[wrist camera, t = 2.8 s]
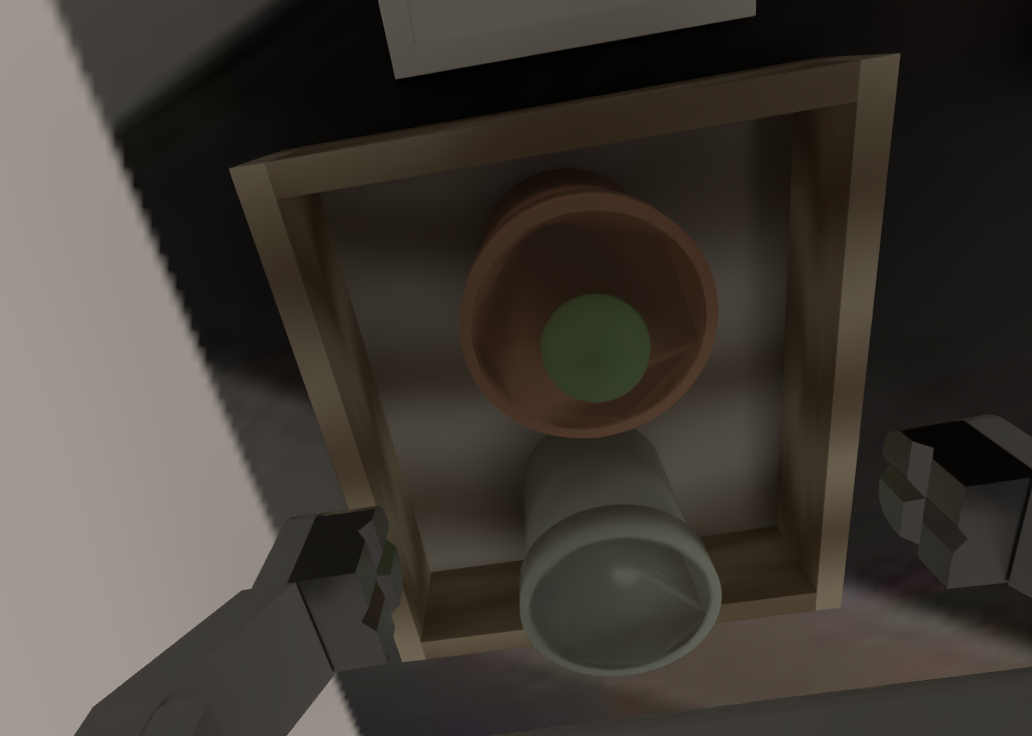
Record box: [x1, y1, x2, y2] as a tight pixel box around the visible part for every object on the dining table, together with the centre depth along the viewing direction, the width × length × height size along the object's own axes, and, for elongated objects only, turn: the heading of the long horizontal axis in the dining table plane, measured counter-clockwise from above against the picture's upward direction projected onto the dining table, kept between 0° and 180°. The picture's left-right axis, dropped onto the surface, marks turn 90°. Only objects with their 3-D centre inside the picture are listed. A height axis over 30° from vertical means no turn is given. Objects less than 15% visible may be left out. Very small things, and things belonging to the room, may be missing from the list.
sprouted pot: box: [460, 168, 718, 438], centre depth 18 cm, size 7×7×10 cm
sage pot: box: [519, 428, 722, 676], centre depth 23 cm, size 7×7×7 cm
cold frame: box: [229, 53, 900, 662], centre depth 22 cm, size 20×18×4 cm
